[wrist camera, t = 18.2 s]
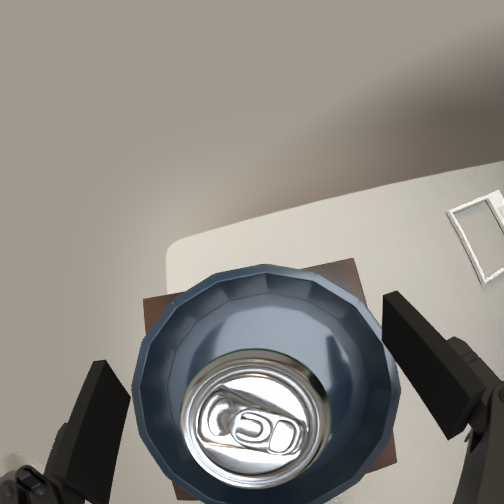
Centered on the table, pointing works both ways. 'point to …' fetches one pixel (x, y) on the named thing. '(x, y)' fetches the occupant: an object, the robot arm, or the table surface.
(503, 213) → the photo frame
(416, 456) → the table surface
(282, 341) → the bowl
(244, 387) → the soda can
